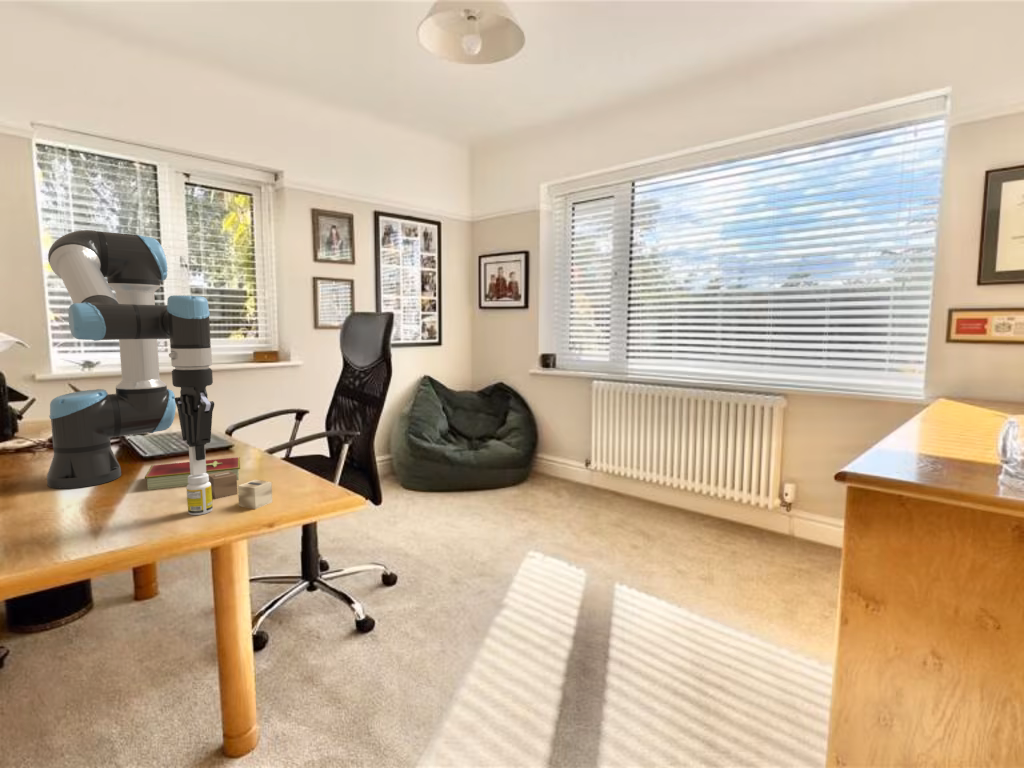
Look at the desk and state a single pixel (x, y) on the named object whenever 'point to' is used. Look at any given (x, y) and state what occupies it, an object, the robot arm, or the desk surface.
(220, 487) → the walnut block
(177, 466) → the hardcover book
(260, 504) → the beech block
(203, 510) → the supplement bottle
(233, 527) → the desk surface
